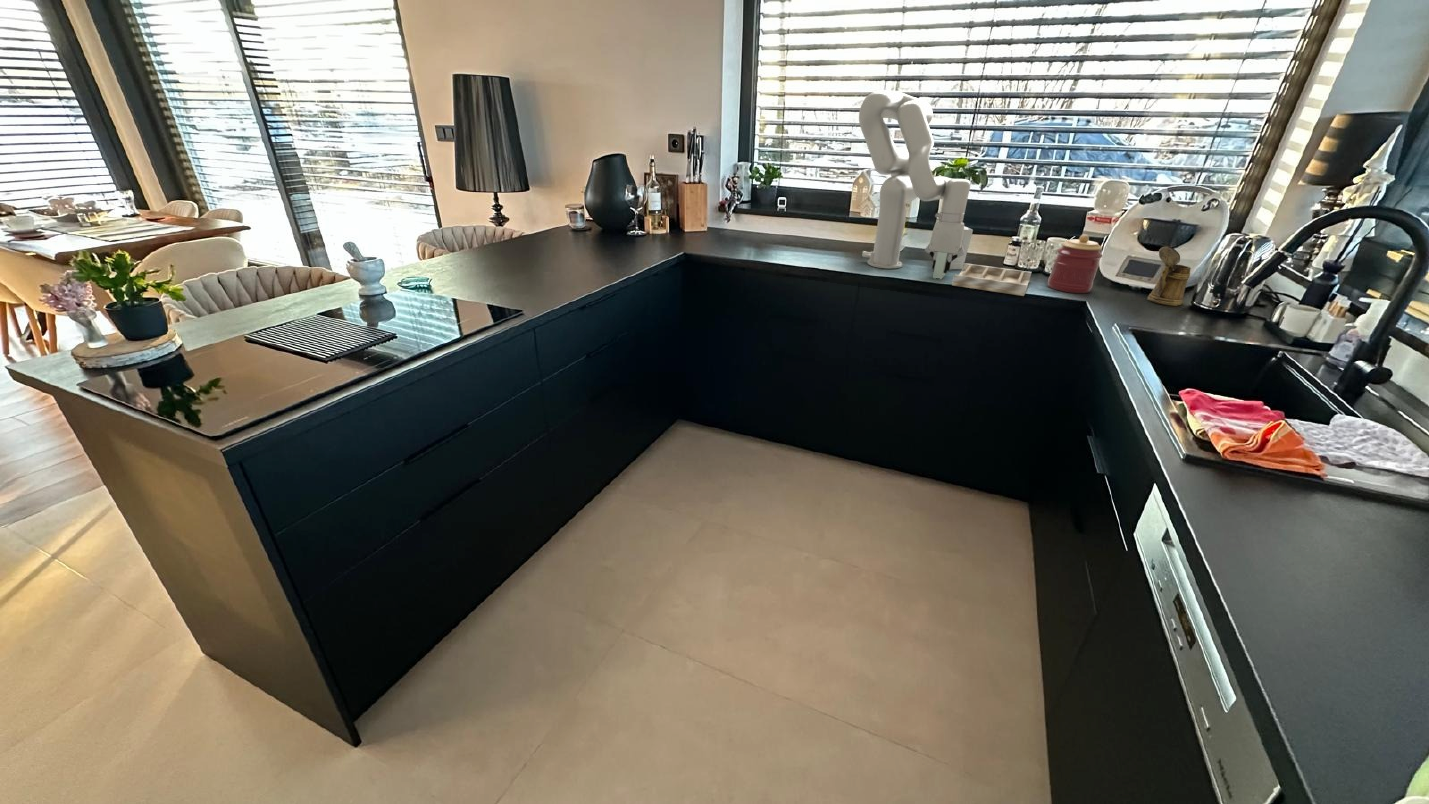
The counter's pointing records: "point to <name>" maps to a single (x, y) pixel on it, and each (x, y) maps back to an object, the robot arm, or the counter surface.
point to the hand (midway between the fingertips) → (940, 271)
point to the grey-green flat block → (940, 265)
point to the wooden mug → (1170, 279)
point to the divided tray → (992, 279)
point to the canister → (1075, 265)
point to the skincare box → (960, 261)
